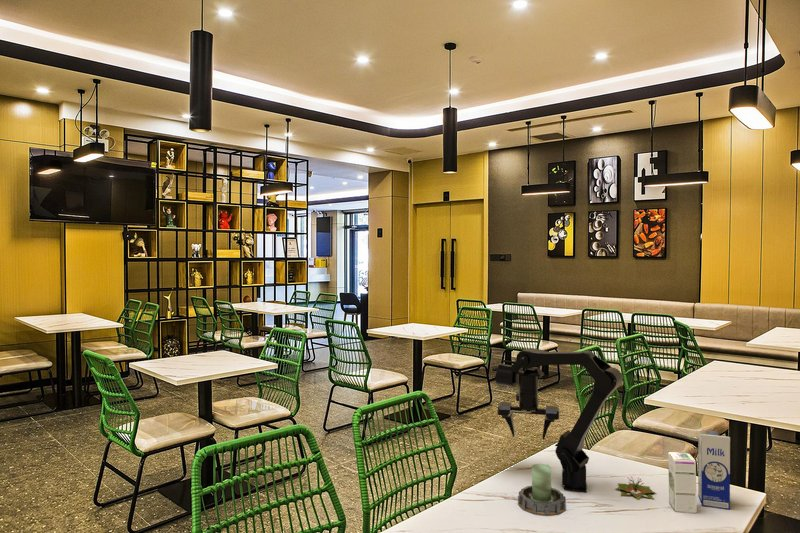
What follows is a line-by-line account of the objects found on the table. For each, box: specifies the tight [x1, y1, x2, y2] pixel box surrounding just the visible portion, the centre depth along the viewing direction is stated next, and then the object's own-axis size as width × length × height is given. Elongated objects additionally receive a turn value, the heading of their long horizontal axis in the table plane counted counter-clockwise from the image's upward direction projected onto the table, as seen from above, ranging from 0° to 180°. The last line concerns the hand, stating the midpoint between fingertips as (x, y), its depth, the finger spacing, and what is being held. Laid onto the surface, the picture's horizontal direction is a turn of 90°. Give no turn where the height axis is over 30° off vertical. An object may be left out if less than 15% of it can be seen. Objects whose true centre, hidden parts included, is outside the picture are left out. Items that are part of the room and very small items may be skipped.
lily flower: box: [616, 476, 658, 501], centre depth 159 cm, size 12×12×5 cm
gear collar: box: [517, 485, 567, 517], centre depth 151 cm, size 13×13×3 cm
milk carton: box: [697, 430, 731, 510], centre depth 151 cm, size 7×7×20 cm
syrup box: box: [667, 451, 698, 514], centre depth 148 cm, size 6×6×14 cm
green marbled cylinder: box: [529, 463, 554, 502], centre depth 151 cm, size 7×7×10 cm
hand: (528, 437), depth 171 cm, fingers open, 9 cm apart
